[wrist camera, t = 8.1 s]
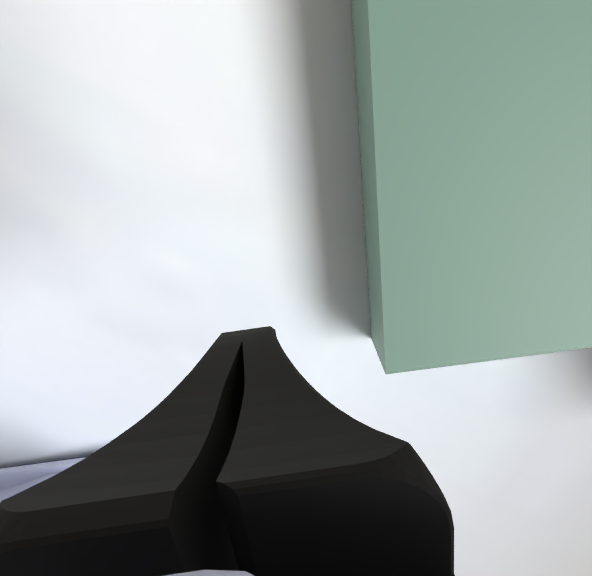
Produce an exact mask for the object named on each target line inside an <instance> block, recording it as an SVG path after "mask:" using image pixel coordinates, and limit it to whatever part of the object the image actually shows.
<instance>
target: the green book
mask: <svg viewBox="0 0 592 576" xmlns="http://www.w3.org/2000/svg"><path fill="white" fill-rule="evenodd" d="M351 7H352V24H353V41H354V57H355V74H356V90H357V107H358V124H359V140H360V157H361V173H362V190H363V207H364V223H365V240H366V257H367V273H368V290H369V306H370V323H371V338H372V341H373V343H374V346H375V348H376V351H377V353H378V356H379V358H380V361H381V364H382V366H383V369H384V371H385V374H391V373H399V372H407V371H414V370H422V369H430V368H438V367H445V366H453V365H461V364H468V363H476V362H484V361H492V360H499V359H507V358H515V357H522V356H530V355H538V354H545V353H553V352H561V351H569V350H576V349H584V348H592V0H351Z"/></svg>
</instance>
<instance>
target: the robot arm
mask: <svg viewBox="0 0 592 576" xmlns="http://www.w3.org/2000/svg"><path fill="white" fill-rule="evenodd" d="M0 576H455V575H454V526H453V520H452V515H451V510H450V508H449V506H448V504H447V501H446V499H445V497H444V495H443V493H442V491H441V489H440V488H439V486H438V484H437V483H436V481H435V479H434V478H433V476H432V474H431V473H430V471H429V470H428V468H427V467H426V465H425V464H424V462H423V461H422V460H421V458H420V457H419V455H418V454H417V453H416V451H415V450H414V449H413V447H412V446H411V445H410V444H409V443H408V442H406V441H403V440H401V439H398V438H395V437H393V436H390V435H388V434H385V433H383V432H380V431H377V430H375V429H373V428H371V427H369V426H367V425H365V424H363V423H361V422H359V421H357V420H355V419H353V418H352V417H350V416H349V415H347V414H346V413H344V412H343V411H341V410H339V409H338V408H336V407H335V406H334V405H333V404H331V403H330V402H329V401H328V400H326V399H325V398H324V397H323V396H322V395H321V394H319V393H318V392H317V391H316V390H315V389H314V388H313V387H312V386H311V385H310V384H309V383H308V382H307V381H306V380H305V379H304V377H303V376H302V375H301V374H300V373H299V372H298V370H297V369H296V368H295V367H294V365H293V364H292V363H291V361H290V360H289V358H288V357H287V356H286V354H285V353H284V351H283V349H282V347H281V346H280V344H279V342H278V340H277V337H276V332H275V329H273V328H272V327H270V326H268V327H261V328H254V329H247V330H240V331H233V332H226V333H222V334H221V335H220V336H219V337H218V338H217V340H216V341H215V342H214V343H213V345H212V346H211V347H210V349H209V350H208V351H207V352H206V354H205V355H204V356H203V357H202V359H201V360H200V361H199V362H198V364H197V365H196V366H195V367H194V368H193V370H192V371H191V372H190V373H189V374H188V375H187V376H186V377H185V378H184V380H183V381H182V382H181V383H180V384H179V385H178V386H177V387H176V388H175V389H174V390H173V391H172V392H171V393H170V394H169V395H168V396H167V397H166V398H165V399H164V400H163V401H162V402H161V403H160V404H159V405H158V406H157V407H155V408H154V409H153V410H152V411H151V412H149V413H148V414H147V415H146V416H145V417H144V418H142V419H141V420H140V421H139V422H137V423H136V424H135V425H133V426H132V427H131V428H129V429H128V430H126V431H125V432H124V433H122V434H121V435H119V436H118V437H117V438H115V439H114V440H112V441H111V442H110V443H108V444H107V445H105V446H104V447H102V448H101V449H99V450H97V451H96V452H94V453H93V454H91V455H89V456H88V457H84V458H77V459H69V460H62V461H54V462H47V463H39V464H32V465H24V466H16V467H9V468H1V469H0Z"/></svg>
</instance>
